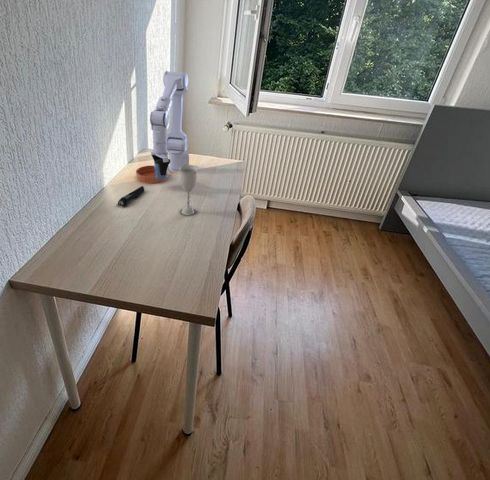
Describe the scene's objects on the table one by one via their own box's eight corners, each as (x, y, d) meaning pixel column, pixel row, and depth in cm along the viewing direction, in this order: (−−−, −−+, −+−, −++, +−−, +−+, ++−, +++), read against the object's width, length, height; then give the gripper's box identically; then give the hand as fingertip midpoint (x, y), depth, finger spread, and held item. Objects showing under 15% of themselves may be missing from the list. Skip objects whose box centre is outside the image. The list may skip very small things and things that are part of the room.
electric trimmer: (146, 193, 149) (146, 186, 148) (124, 207, 138) (124, 200, 136) (139, 191, 151) (139, 184, 149) (117, 205, 139) (116, 198, 137)
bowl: (161, 170, 170) (160, 164, 168) (170, 182, 160) (170, 174, 158) (133, 174, 165) (132, 167, 164) (140, 186, 155) (140, 178, 153)
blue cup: (164, 173, 154) (164, 159, 150) (168, 178, 150) (168, 163, 146) (153, 175, 152) (152, 160, 148) (157, 179, 148) (156, 165, 144)
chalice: (194, 217, 133) (195, 173, 123) (177, 215, 134) (177, 171, 124) (198, 208, 139) (199, 165, 129) (181, 206, 140) (182, 164, 130)
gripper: (145, 137, 146) (147, 167, 154) (156, 147, 135) (157, 180, 143) (161, 135, 149) (162, 165, 156) (173, 146, 138) (173, 177, 145)
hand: (161, 172), depth 150 cm, fingers closed on blue cup, 5 cm apart
